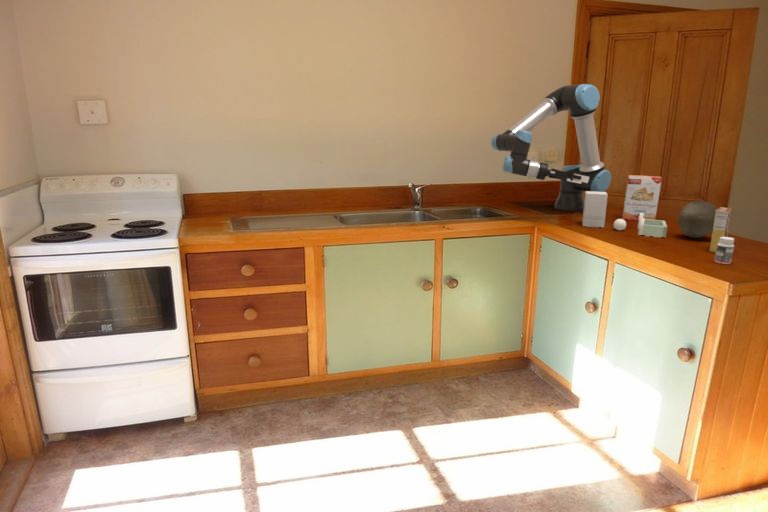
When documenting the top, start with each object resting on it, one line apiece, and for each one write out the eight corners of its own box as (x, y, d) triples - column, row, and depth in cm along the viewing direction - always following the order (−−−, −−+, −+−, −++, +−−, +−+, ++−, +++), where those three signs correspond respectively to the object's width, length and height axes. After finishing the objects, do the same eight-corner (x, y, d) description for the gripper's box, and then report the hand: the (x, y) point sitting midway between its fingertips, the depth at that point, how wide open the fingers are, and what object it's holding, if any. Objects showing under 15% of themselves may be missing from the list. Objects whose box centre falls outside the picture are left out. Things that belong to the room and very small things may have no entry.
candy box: (712, 247, 190) (719, 206, 186) (725, 248, 187) (733, 208, 183) (708, 251, 183) (715, 209, 180) (722, 253, 181) (730, 211, 177)
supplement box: (602, 224, 230) (606, 191, 227) (604, 228, 222) (608, 194, 218) (581, 223, 233) (585, 190, 229) (582, 226, 225) (586, 193, 221)
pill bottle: (710, 260, 171) (715, 236, 169) (724, 260, 172) (728, 236, 169) (720, 264, 167) (725, 239, 165) (734, 264, 167) (739, 239, 165)
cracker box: (622, 219, 242) (628, 175, 236) (622, 217, 247) (627, 174, 242) (655, 222, 237) (662, 177, 231) (654, 220, 242) (660, 176, 237)
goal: (637, 228, 222) (639, 212, 220) (663, 230, 218) (665, 214, 216) (638, 235, 208) (640, 218, 206) (665, 238, 204) (668, 220, 202)
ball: (613, 228, 221) (614, 217, 220) (625, 229, 219) (627, 218, 218) (612, 230, 217) (614, 219, 216) (625, 231, 215) (627, 220, 214)
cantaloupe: (668, 234, 211) (674, 198, 207) (702, 234, 211) (709, 199, 207) (686, 242, 197) (693, 204, 194) (723, 242, 197) (730, 204, 193)
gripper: (532, 179, 242) (576, 189, 240) (538, 177, 218) (589, 188, 215) (536, 163, 241) (581, 173, 238) (543, 160, 217) (593, 170, 214)
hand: (585, 180), depth 227 cm, fingers open, 13 cm apart
